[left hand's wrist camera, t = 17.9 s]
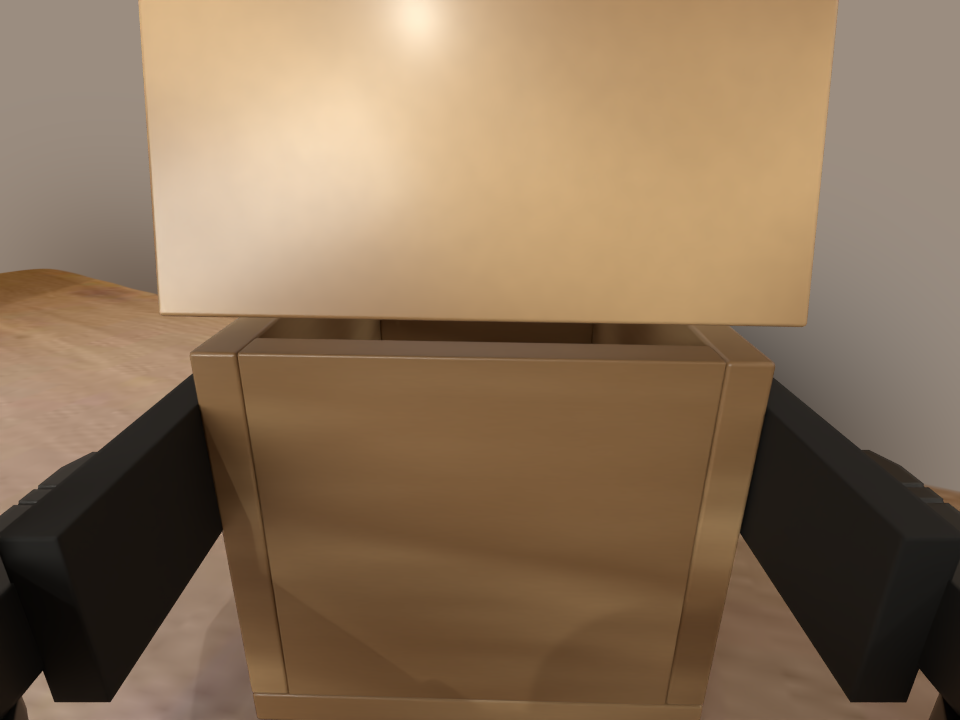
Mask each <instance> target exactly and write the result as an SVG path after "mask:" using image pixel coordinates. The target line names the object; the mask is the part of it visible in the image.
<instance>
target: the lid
mask: <svg viewBox="0 0 960 720" xmlns="http://www.w3.org/2000/svg"><path fill="white" fill-rule="evenodd" d="M138 1H139V16H140V32H141V47H142V62H143V77H144V92H145V107H146V123H147V138H148V153H149V168H150V183H151V198H152V213H153V228H154V244H155V259H156V274H157V289H158V305H159V313H160V315H162V316H191V317H249V318H308V319H367V320H425V321H484V322H543V323H601V324H660V325H719V326H778V327H803V326H806V324H807V317H808V306H809V296H810V286H811V276H812V266H813V256H814V245H815V235H816V225H817V215H818V205H819V195H820V185H821V174H822V164H823V154H824V144H825V134H826V124H827V114H828V103H829V93H830V83H831V73H832V63H833V53H834V43H835V32H836V22H837V12H838V2H839V0H138Z"/></svg>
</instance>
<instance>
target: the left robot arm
mask: <svg viewBox="0 0 960 720" xmlns="http://www.w3.org/2000/svg"><path fill="white" fill-rule="evenodd" d="M222 531H223V528H222V523H221V517H220V512H219V507H218V502H217V497H216V492H215V487H214V482H213V477H212V471H211V466H210V461H209V456H208V451H207V446H206V441H205V435H204V430H203V425H202V419H201V414H200V408H199V403H198V398H197V392H196V387H195V382H194V376H193V374H192V375H190V376H189V377H188V378H187V379H185V380H184V381H183V382H182V383H181V384H179V385H178V386H177V387H176V388H175V389H173V390H172V391H171V392H170V393H168V394H167V395H166V396H165V397H164V398H162V399H161V400H160V401H159V402H158V403H156V404H155V405H154V406H153V407H151V408H150V409H149V410H148V411H147V412H145V413H144V414H143V415H142V416H141V417H139V418H138V419H137V420H136V421H134V422H133V423H132V424H131V425H130V426H128V427H127V428H126V429H125V430H124V431H122V432H121V433H120V434H119V435H117V436H116V437H115V438H114V439H113V440H111V441H110V442H109V443H108V444H107V445H105V446H104V447H103V448H102V449H100V450H99V451H98V452H92V453H90V454H88V455H85V456H83V457H81V458H79V459H77V460H75V461H73V462H71V463H69V464H67V465H65V466H63V467H61V468H60V469H59V470H58V471H56V472H55V473H54V474H52V475H51V476H50V477H49V478H47V479H46V480H45V481H44V482H42V483H41V484H40V485H39V486H38V489H33V490H32V491H31V492H30V493H28V494H27V495H26V496H25V497H23V498H22V499H21V500H20V501H19V504H18V505H13V506H12V507H11V508H9V509H8V510H7V511H6V512H4V513H3V514H2V515H1V516H0V720H28V714H27V708H26V706H25V703H24V701H23V698H22V695H23V694H24V693H25V691H26V690H27V689H28V688H29V687H30V685H31V684H32V683H33V682H34V681H35V679H36V678H37V677H38V676H39V674H40V673H41V672H42V671H43V672H44V675H45V678H46V680H47V683H48V686H49V688H50V691H51V694H52V696H53V699H54V702H111V700H112V699H113V697H114V696H115V694H116V693H117V691H118V690H119V688H120V687H121V685H122V683H123V682H124V680H125V679H126V677H127V676H128V674H129V673H130V671H131V670H132V668H133V667H134V665H135V664H136V662H137V661H138V659H139V657H140V656H141V654H142V653H143V651H144V650H145V648H146V647H147V645H148V644H149V642H150V641H151V639H152V638H153V636H154V635H155V633H156V631H157V630H158V628H159V627H160V625H161V624H162V622H163V621H164V619H165V618H166V616H167V615H168V613H169V612H170V610H171V609H172V607H173V605H174V604H175V602H176V601H177V599H178V598H179V596H180V595H181V593H182V592H183V590H184V589H185V587H186V586H187V584H188V583H189V581H190V579H191V578H192V576H193V575H194V573H195V572H196V570H197V569H198V567H199V566H200V564H201V563H202V561H203V560H204V558H205V557H206V555H207V553H208V552H209V550H210V549H211V547H212V546H213V544H214V543H215V541H216V540H217V538H218V537H219V535H220V534H221V532H222ZM740 534H741V535H742V537H743V538H744V540H745V541H746V543H747V544H748V546H749V548H750V549H751V551H752V552H753V554H754V555H755V557H756V558H757V560H758V561H759V563H760V564H761V566H762V567H763V569H764V570H765V572H766V574H767V575H768V577H769V578H770V580H771V581H772V583H773V584H774V586H775V587H776V589H777V590H778V592H779V593H780V595H781V596H782V598H783V600H784V601H785V603H786V604H787V606H788V607H789V609H790V610H791V612H792V613H793V615H794V616H795V618H796V619H797V621H798V622H799V624H800V626H801V627H802V629H803V630H804V632H805V633H806V635H807V636H808V638H809V639H810V641H811V642H812V644H813V645H814V647H815V648H816V650H817V652H818V653H819V655H820V656H821V658H822V659H823V661H824V662H825V664H826V665H827V667H828V668H829V670H830V671H831V673H832V674H833V676H834V678H835V679H836V681H837V682H838V684H839V685H840V687H841V688H842V690H843V691H844V693H845V694H846V696H847V697H848V699H849V700H850V702H907V699H908V697H909V694H910V691H911V689H912V686H913V683H914V681H915V678H916V675H917V673H918V670H919V669H920V670H921V671H922V672H923V674H924V675H925V676H926V677H927V678H928V680H929V681H930V682H931V683H932V685H933V686H934V687H935V688H936V689H937V691H938V692H939V696H938V698H937V701H936V703H935V706H934V708H933V711H932V713H931V716H930V718H929V720H960V512H959V511H958V510H957V509H955V508H954V507H953V506H951V505H950V504H949V503H944V502H943V498H941V497H940V496H939V495H937V494H936V493H935V492H934V491H932V490H931V489H930V488H928V487H924V484H923V483H922V482H921V481H920V480H918V479H917V478H916V477H914V476H913V475H912V474H911V473H909V472H908V471H907V470H905V469H904V468H903V467H902V466H900V465H898V464H896V463H894V462H892V461H890V460H888V459H886V458H884V457H882V456H880V455H878V454H876V453H874V452H872V451H870V450H861V449H859V448H858V447H857V446H856V445H854V444H853V443H852V442H851V441H850V440H848V439H847V438H846V437H845V436H843V435H842V434H841V433H840V432H839V431H837V430H836V429H835V428H834V427H833V426H831V425H830V424H829V423H828V422H827V421H825V420H824V419H823V418H822V417H820V416H819V415H818V414H817V413H816V412H814V411H813V410H812V409H811V408H809V407H808V406H807V405H806V404H805V403H803V402H802V401H801V400H800V399H799V398H797V397H796V396H795V395H794V394H792V393H791V392H790V391H789V390H788V389H786V388H785V387H784V386H783V385H781V384H780V383H779V382H778V381H777V380H776V379H774V378H773V379H772V384H771V389H770V393H769V398H768V403H767V407H766V412H765V417H764V421H763V426H762V431H761V435H760V440H759V445H758V450H757V454H756V459H755V464H754V468H753V473H752V478H751V482H750V487H749V492H748V496H747V501H746V506H745V510H744V515H743V520H742V524H741V529H740Z"/></svg>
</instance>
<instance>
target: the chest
mask: <svg viewBox="0 0 960 720" xmlns="http://www.w3.org/2000/svg"><path fill="white" fill-rule="evenodd" d="M190 360H191V366H192V371H193V376H194V382H195V387H196V392H197V398H198V403H199V408H200V414H201V419H202V425H203V430H204V435H205V441H206V446H207V451H208V456H209V461H210V466H211V471H212V477H213V482H214V487H215V492H216V497H217V502H218V507H219V512H220V517H221V523H222V528H223V531H222V532H223V537H224V543H225V548H226V553H227V559H228V564H229V569H230V575H231V580H232V586H233V591H234V596H235V602H236V607H237V612H238V618H239V623H240V628H241V634H242V639H243V645H244V650H245V655H246V661H247V666H248V671H249V677H250V682H251V688H252V691H253V692H254V693H253V697H254V702H255V708H256V713H257V717H258V718H259V719H274V720H700V716H701V712H702V704H703V702H704V698H705V693H706V688H707V684H708V679H709V674H710V670H711V665H712V660H713V655H714V651H715V646H716V641H717V637H718V632H719V627H720V623H721V618H722V613H723V609H724V604H725V599H726V595H727V590H728V585H729V581H730V576H731V571H732V567H733V562H734V557H735V553H736V548H737V543H738V538H739V534H740V529H741V524H742V520H743V515H744V510H745V506H746V501H747V496H748V492H749V487H750V482H751V478H752V473H753V468H754V464H755V459H756V454H757V450H758V445H759V440H760V435H761V431H762V426H763V421H764V417H765V412H766V407H767V403H768V398H769V393H770V389H771V384H772V379H773V375H774V370H775V364H774V362H773V361H771V360H770V359H769V358H768V357H766V356H765V355H764V354H763V353H762V352H760V351H759V350H758V349H757V348H755V347H754V346H753V345H752V344H751V343H749V342H748V341H747V340H746V339H744V338H743V337H742V336H741V335H740V334H738V333H737V332H736V331H735V330H733V329H732V328H731V327H730V326H719V325H660V324H601V323H543V322H484V321H425V320H367V319H308V318H249V317H239V318H238V319H236V320H235V321H234V322H232V323H231V324H229V325H228V326H227V327H225V328H224V329H222V330H221V331H220V332H218V333H217V334H215V335H214V336H213V337H211V338H210V339H208V340H207V341H206V342H204V343H203V344H201V345H200V346H199V347H197V348H196V349H194V350H193V351H192V352H191V353H190Z"/></svg>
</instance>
